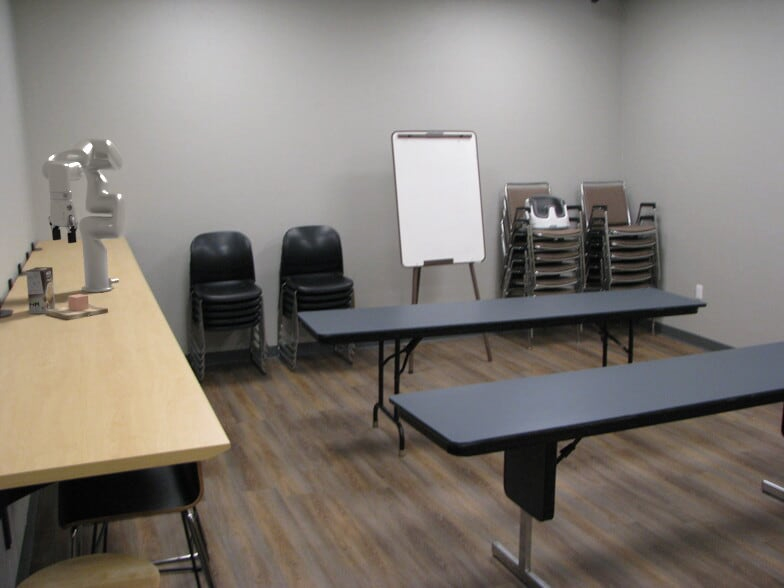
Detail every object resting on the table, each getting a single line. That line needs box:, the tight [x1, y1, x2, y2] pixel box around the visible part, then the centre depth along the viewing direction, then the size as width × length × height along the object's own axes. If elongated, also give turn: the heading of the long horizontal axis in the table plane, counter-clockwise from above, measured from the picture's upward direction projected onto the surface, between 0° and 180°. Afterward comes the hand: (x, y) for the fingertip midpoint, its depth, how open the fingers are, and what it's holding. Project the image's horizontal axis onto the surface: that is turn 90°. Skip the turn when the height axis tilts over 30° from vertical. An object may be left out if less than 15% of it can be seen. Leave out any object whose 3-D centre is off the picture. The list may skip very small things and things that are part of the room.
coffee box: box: [25, 266, 56, 314], centre depth 275 cm, size 9×6×16 cm
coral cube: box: [67, 293, 90, 311], centre depth 274 cm, size 5×5×5 cm
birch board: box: [46, 303, 109, 321], centre depth 274 cm, size 16×14×2 cm
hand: (64, 241), depth 279 cm, fingers open, 9 cm apart
